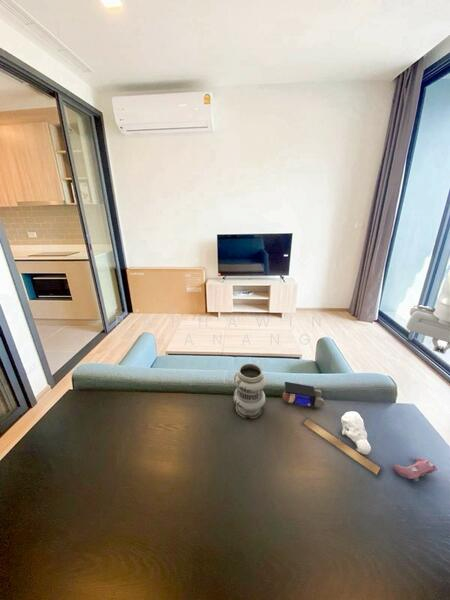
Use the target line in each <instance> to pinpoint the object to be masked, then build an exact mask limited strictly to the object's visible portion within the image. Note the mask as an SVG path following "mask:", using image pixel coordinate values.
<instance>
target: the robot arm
mask: <svg viewBox="0 0 450 600" xmlns="http://www.w3.org/2000/svg"><path fill="white" fill-rule="evenodd" d="M448 270H449V271H448V272H447V274H446V276H445V278H444V282H443V284H442V288H441V289H442V292H441V295H440V296H439V298H438V299H437V302H436V305H435V307H430V306H424V305H420V304H418V305H413V306H412V307H411V308H410V311H409V315H410V317H409V319H408V321H407V323H406V326H405V328H406V329H407V331H409V332H412V333H416V334H419V335H422V336H426V337H429V338H432V339H431V342H432V344H433V349H432V351H434V352H437V353H439V354H442V355H445V354H446V352H447V350H449V349H450V269H448ZM438 341H442V342H446V345H445V346H443V345H440V344H439V343H438Z"/></svg>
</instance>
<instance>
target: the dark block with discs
mask: <svg viewBox="0 0 450 600" xmlns="http://www.w3.org/2000/svg"><path fill="white" fill-rule="evenodd" d="M322 396H323V392H322V391H321V390H320V389H316V388H314V386H312V385H307V384H302V383H295V382H289V381H284V392H282V400H283V401H284V402H285V403H287V404H292V403H295V404H297V405H300V406H302V407H303V406H305V407H310V408H314V409H316V408H317V407H318V408H322V407H324V406H325V400H324V398H322Z"/></svg>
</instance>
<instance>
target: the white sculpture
mask: <svg viewBox="0 0 450 600" xmlns="http://www.w3.org/2000/svg"><path fill="white" fill-rule="evenodd" d="M340 418H341V419H340V421H341V424H342V431H341V434H342V436H347V438H349V439H350V440H351V441H352V442H354V443H355V445H356V447H357V448H354V450H355V451H356V452H358V453H359V454H361V455H369V454H370V452H371V451H372V447H371V444H370V443H369V441H368V433H367V431H366V428H365V422H364V419H363V418H362V417H361V415H360V413H358V412H357V411H353V410H352V411H347V412H345V413H344V414H343V415H342V416H341V417H340Z"/></svg>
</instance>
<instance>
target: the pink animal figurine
mask: <svg viewBox="0 0 450 600" xmlns="http://www.w3.org/2000/svg"><path fill="white" fill-rule="evenodd" d="M414 462H415V463H413V464H411V465H408V466H402V465H399V464H394V465H393V470H394V472H395V473H397V474H398V475H399V476H401V477H403V478H405V479H408V480H414V481H415V482H417V481H419V480H420V478H419V477H424V476H425V475H426V474H432V473H434V472H436V471H438V468H437V467H436V465H435V464H434V463H433V461H431V460H429V459H425V458H421V457H415V459H414Z"/></svg>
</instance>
